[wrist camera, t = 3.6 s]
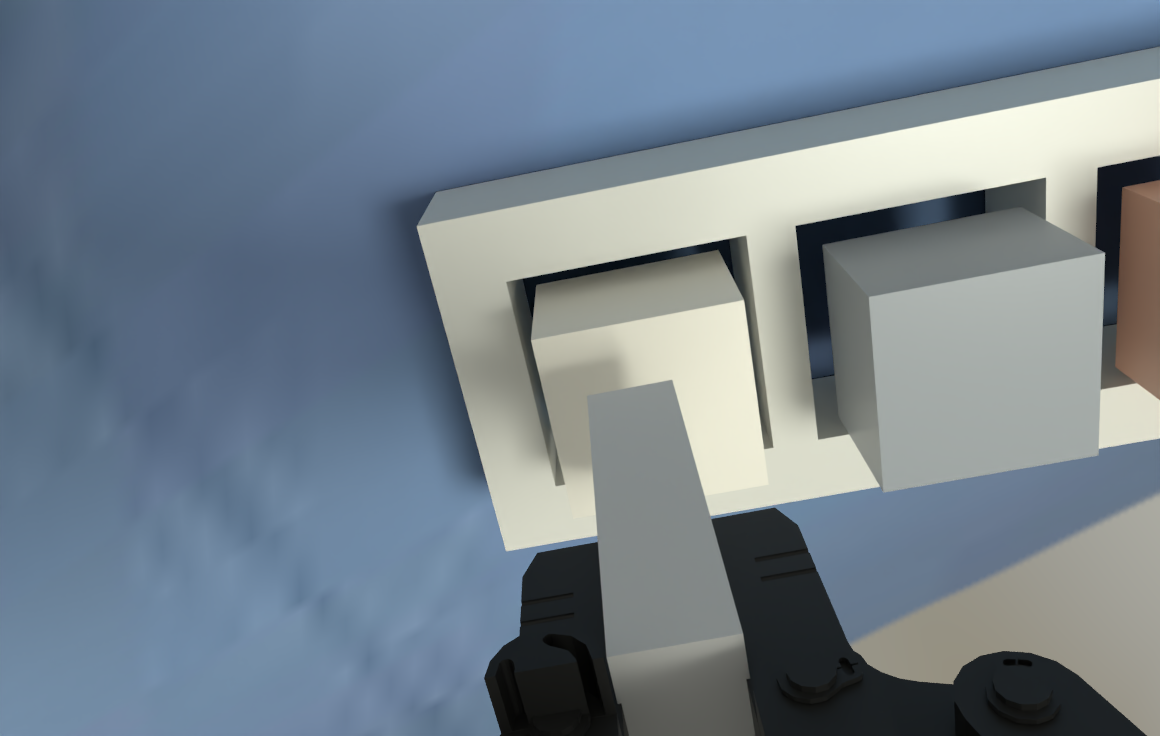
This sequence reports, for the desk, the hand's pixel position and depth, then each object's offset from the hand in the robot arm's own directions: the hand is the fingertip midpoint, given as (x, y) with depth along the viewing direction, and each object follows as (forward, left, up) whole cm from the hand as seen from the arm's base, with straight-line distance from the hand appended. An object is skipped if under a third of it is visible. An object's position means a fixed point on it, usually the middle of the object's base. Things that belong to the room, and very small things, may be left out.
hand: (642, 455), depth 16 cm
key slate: (+6, 0, -4) cm, 7 cm away
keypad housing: (+6, 0, -7) cm, 9 cm away
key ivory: (0, 0, -5) cm, 5 cm away
